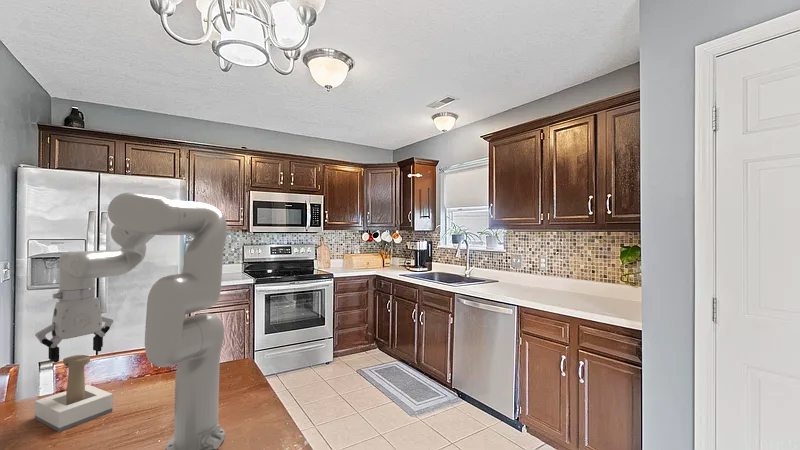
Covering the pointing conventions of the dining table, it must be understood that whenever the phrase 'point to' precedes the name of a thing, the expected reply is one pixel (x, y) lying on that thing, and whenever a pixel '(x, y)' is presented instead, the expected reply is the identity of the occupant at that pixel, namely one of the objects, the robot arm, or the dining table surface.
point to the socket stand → (73, 408)
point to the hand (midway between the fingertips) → (76, 355)
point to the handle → (75, 378)
